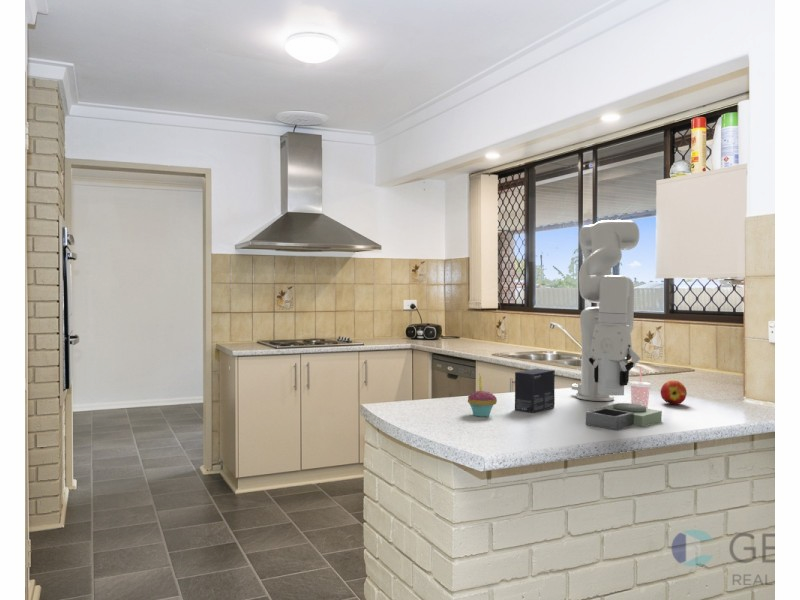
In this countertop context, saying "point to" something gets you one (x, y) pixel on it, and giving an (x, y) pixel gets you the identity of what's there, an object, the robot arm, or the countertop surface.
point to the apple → (673, 392)
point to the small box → (534, 390)
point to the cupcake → (481, 401)
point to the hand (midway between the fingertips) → (610, 383)
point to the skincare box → (609, 376)
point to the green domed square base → (638, 413)
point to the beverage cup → (640, 392)
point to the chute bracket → (610, 418)
